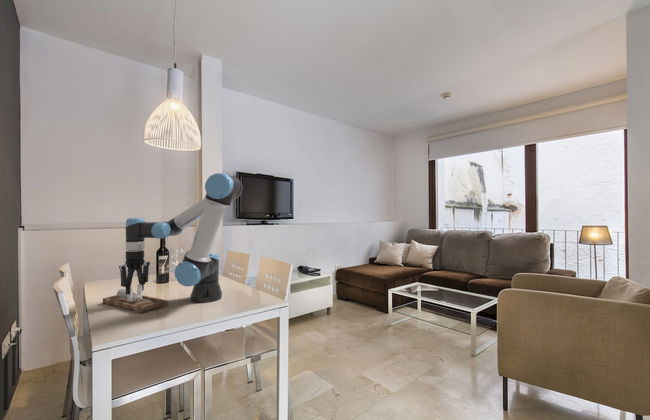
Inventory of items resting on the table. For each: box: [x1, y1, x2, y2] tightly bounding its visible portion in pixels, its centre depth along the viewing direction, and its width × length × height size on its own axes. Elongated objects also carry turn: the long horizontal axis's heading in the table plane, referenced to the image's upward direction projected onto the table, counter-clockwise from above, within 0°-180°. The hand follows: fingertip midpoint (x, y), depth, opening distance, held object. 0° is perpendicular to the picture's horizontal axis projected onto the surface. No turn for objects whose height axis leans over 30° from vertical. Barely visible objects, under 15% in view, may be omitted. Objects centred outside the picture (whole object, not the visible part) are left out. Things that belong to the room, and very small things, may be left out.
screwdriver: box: [116, 288, 152, 302], centre depth 142 cm, size 5×25×4 cm, turn 63°
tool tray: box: [102, 294, 168, 314], centre depth 142 cm, size 30×12×2 cm, turn 64°
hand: (134, 299), depth 142 cm, fingers closed on screwdriver, 4 cm apart
